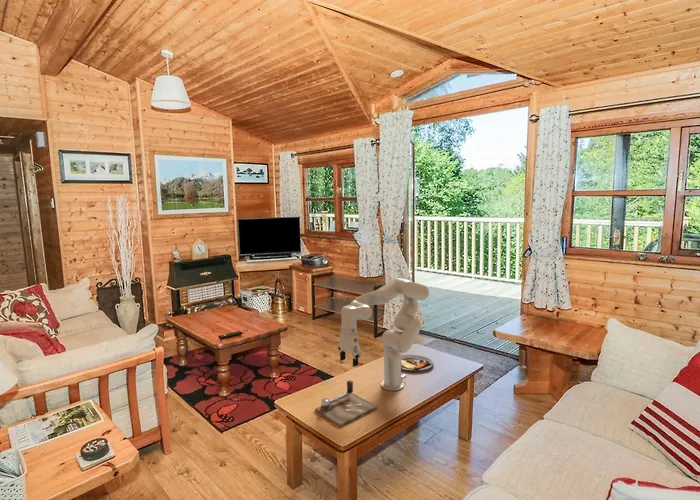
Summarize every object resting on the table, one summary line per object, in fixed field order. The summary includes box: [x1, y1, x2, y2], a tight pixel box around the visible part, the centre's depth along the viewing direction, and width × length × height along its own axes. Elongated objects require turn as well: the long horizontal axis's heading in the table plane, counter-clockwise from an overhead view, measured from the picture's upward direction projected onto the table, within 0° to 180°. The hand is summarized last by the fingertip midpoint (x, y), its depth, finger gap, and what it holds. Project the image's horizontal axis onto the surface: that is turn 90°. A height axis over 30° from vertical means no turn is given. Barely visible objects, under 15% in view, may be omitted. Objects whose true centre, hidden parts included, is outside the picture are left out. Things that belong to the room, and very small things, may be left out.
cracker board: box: [314, 392, 378, 429], centre depth 199 cm, size 24×19×2 cm
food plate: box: [401, 354, 434, 372], centre depth 252 cm, size 25×23×4 cm
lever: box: [321, 380, 354, 408], centre depth 203 cm, size 20×4×7 cm, turn 132°
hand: (349, 362), depth 206 cm, fingers open, 9 cm apart
